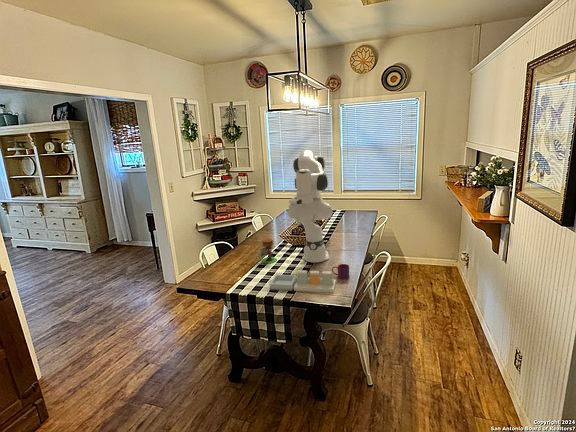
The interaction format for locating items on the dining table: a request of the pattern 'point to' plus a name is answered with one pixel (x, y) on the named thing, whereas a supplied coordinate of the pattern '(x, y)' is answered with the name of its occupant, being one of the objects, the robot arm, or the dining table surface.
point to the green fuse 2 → (327, 277)
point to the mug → (342, 271)
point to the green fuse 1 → (302, 276)
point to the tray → (283, 282)
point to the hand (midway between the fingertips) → (306, 223)
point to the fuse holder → (315, 286)
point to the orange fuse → (314, 277)
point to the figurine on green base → (267, 251)
